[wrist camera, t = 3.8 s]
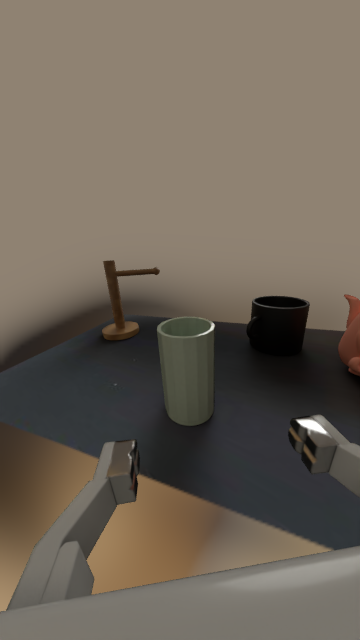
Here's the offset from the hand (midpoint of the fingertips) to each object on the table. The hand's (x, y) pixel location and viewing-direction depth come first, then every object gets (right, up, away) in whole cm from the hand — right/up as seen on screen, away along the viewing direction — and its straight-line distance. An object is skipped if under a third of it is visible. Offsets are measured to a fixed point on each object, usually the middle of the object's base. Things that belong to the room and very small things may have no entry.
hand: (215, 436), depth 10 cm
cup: (-1, -4, +16) cm, 17 cm away
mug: (+16, +1, +27) cm, 32 cm away
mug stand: (-14, +3, +39) cm, 41 cm away
